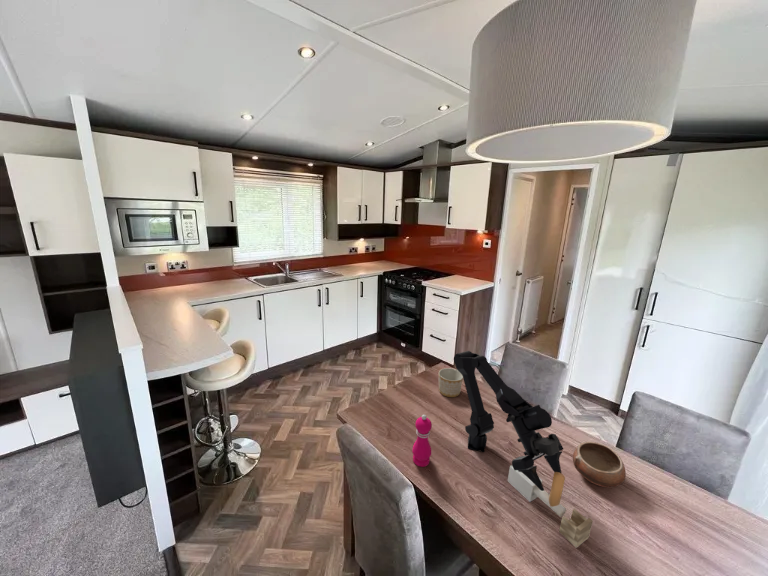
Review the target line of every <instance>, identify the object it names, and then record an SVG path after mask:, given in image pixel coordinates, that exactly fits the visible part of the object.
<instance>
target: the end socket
mask: <svg viewBox="0 0 768 576" xmlns="http://www.w3.org/2000/svg"><path fill="white" fill-rule="evenodd" d="M571 511H572V512H571V516H570V519H568V518H567V517H566V516H565V515H563V516H562V518H561V522H560V527H559V533H560V534H561V535H562V537H564V539H566V540H567V541H568V542H569V543H570V544H571V545H573V547H575V548H576V549H577V548H578V547H579V546H581V545H582V544H583V543H584V542H585V541H586V540H588V539H589V538H590V535H591V529H592V525H593V521H594V520H592V518H591V517H588V518H586V516H584V514H582V513H580V511H578V510H577V509H576V508H573V509H572V510H571Z"/></svg>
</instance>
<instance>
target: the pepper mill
mask: <svg viewBox="0 0 768 576" xmlns="http://www.w3.org/2000/svg"><path fill="white" fill-rule="evenodd" d="M415 429H416V431H415V433H416V435H417V438H416V440H415V442H414V443H413V446H412V451H411V452H412V461H413V463H414V464H415V465H416V466H417V467H419V468H420V467H421V468H423V467H427V466H428V465H429V464H430V457H431V456H432V447H431V444H430V442H429V437H430V435H431V430H432V421H431V420H430V418H429V417H427V415H426V414H422V415H421V416H420V417H418V418H417V419H416V420H415Z"/></svg>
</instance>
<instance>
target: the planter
mask: <svg viewBox="0 0 768 576" xmlns="http://www.w3.org/2000/svg"><path fill="white" fill-rule="evenodd" d="M463 382H464V380H463V376H462V374H461V373H460V372H459V371H458V370H457V368H456V369H455V368H452V367H448V368H446V367H445V368H441V369H440V370H439V371H438V391H439V393H440V394H441V395H443V396H444V397H447V398H456V397H458V396H460V394H461V390H462V385H463Z"/></svg>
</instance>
